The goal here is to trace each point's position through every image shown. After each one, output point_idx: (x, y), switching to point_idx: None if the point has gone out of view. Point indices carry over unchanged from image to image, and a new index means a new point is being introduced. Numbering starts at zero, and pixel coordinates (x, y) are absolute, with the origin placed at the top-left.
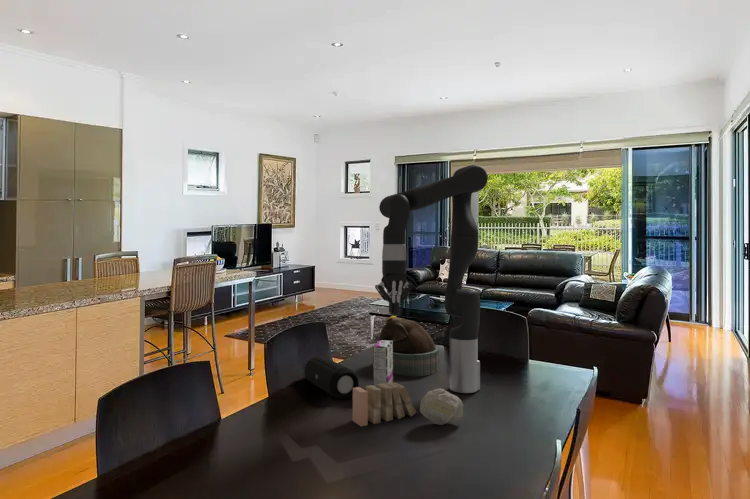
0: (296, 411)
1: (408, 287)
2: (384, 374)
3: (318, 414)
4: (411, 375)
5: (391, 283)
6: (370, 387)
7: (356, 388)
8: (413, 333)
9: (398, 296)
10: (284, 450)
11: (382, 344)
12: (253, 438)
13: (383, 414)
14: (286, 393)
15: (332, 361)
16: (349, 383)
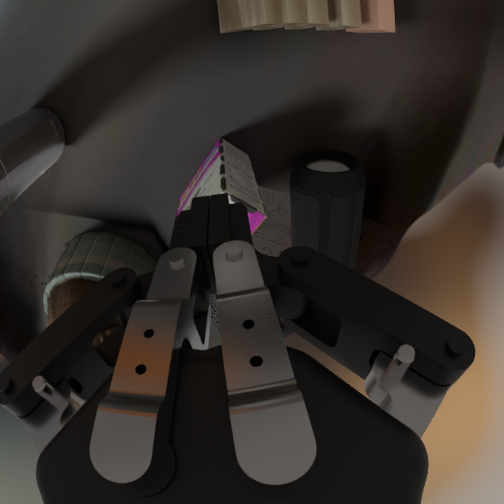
0: (420, 135)
1: (32, 378)
2: (228, 159)
3: (399, 99)
4: (119, 244)
5: (309, 436)
6: (355, 9)
7: (389, 23)
8: None
9: (171, 292)
10: (476, 6)
11: None
12: (493, 67)
13: None
14: (387, 236)
15: None
16: (318, 170)
